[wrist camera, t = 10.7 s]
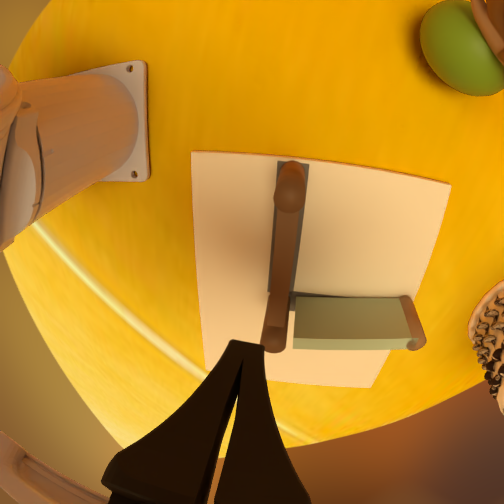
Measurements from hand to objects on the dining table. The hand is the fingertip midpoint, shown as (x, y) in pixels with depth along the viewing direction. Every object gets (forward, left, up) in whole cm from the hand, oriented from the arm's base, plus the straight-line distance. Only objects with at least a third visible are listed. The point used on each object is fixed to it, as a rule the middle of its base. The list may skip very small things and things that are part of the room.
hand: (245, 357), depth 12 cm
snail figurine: (+10, +14, -10) cm, 20 cm away
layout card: (+3, -4, -9) cm, 11 cm away
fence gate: (+7, -3, -9) cm, 11 cm away
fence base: (+1, +1, -9) cm, 9 cm away
